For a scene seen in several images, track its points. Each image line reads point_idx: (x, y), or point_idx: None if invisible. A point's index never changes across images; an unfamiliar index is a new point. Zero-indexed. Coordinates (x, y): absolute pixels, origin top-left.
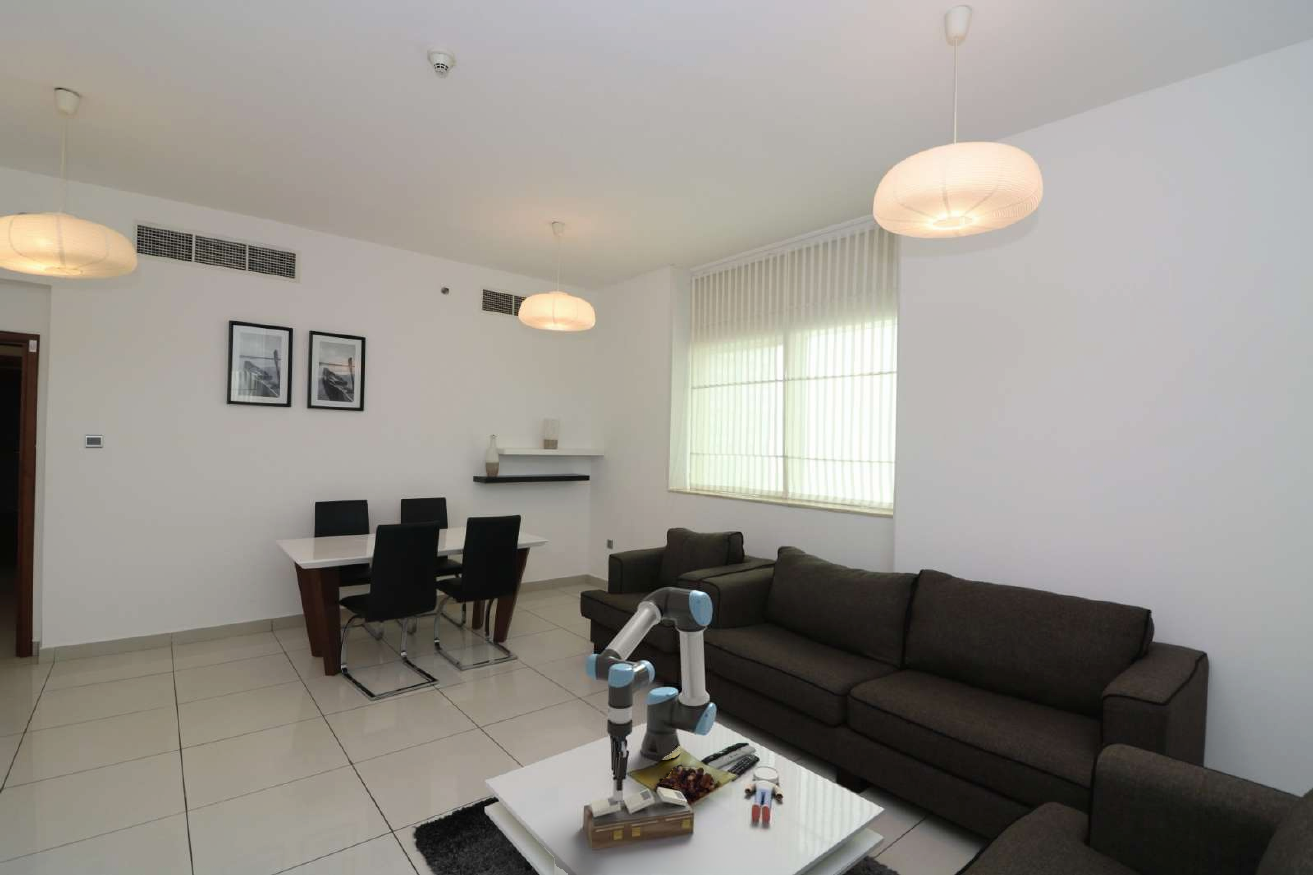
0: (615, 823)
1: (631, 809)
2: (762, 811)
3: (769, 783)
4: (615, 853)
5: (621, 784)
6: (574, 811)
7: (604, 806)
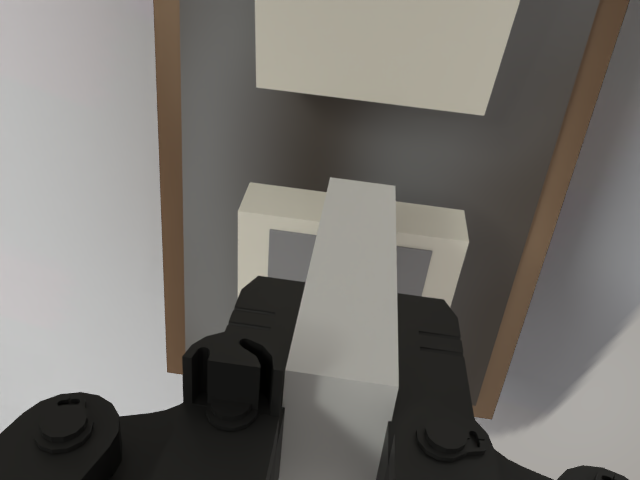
0: (525, 255)
1: (490, 78)
2: None
3: None
4: (583, 208)
5: (461, 382)
6: (34, 277)
7: None
